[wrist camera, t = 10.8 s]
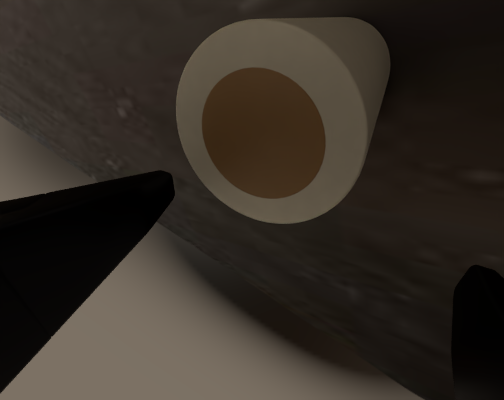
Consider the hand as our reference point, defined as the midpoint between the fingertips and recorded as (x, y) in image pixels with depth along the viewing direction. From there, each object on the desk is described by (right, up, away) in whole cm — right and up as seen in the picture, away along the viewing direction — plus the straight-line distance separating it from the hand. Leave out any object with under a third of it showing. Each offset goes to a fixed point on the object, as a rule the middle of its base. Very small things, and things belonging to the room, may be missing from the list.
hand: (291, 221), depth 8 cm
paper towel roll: (+1, +3, +6) cm, 7 cm away
